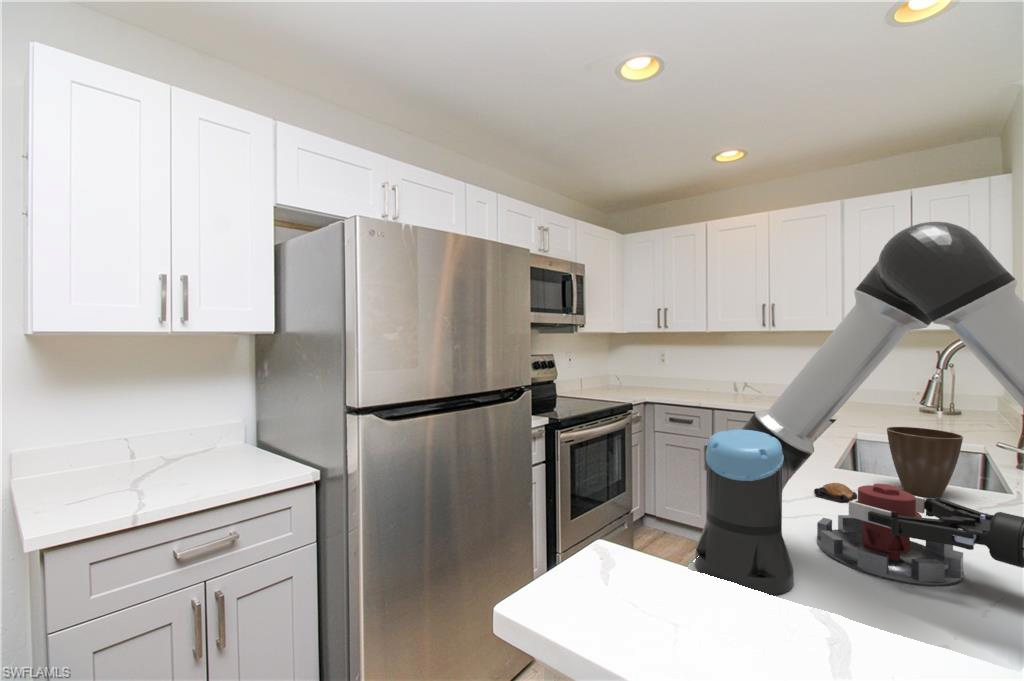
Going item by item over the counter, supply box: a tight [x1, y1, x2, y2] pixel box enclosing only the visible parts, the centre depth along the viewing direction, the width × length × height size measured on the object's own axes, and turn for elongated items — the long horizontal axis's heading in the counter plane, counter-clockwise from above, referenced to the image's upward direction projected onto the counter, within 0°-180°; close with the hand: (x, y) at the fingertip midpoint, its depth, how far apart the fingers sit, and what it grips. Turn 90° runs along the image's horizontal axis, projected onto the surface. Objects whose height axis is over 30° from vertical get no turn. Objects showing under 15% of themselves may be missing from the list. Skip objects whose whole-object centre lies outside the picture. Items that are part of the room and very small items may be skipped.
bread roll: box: [813, 482, 858, 504], centre depth 119 cm, size 11×8×4 cm
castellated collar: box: [816, 514, 965, 587], centre depth 86 cm, size 21×21×4 cm
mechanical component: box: [854, 483, 923, 561], centre depth 86 cm, size 12×10×10 cm
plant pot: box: [886, 426, 964, 499], centre depth 122 cm, size 15×15×16 cm
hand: (866, 501), depth 89 cm, fingers open, 13 cm apart
